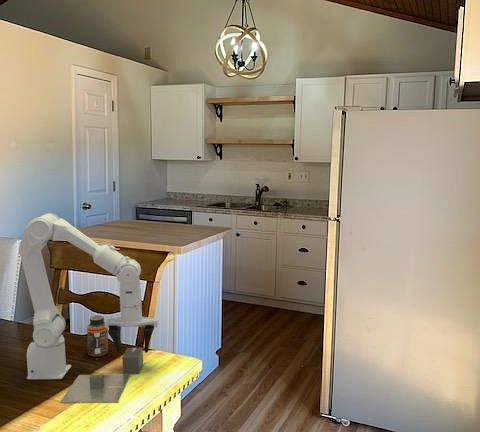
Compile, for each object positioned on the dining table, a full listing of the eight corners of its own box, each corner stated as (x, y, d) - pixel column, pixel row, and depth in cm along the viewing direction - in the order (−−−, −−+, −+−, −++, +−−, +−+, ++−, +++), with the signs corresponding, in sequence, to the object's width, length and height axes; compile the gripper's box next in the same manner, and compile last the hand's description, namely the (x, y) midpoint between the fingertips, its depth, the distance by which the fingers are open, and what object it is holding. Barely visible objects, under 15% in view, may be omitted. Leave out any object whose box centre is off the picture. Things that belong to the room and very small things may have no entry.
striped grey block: (139, 374, 135) (138, 356, 134) (123, 374, 135) (122, 356, 134) (143, 364, 141) (142, 347, 140) (128, 364, 141) (127, 347, 140)
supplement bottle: (102, 358, 145) (101, 321, 144) (84, 356, 147) (82, 320, 145) (111, 350, 151) (110, 314, 150) (94, 348, 152) (92, 313, 151)
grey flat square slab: (60, 402, 120) (59, 389, 120) (79, 376, 134) (78, 364, 134) (117, 402, 120) (116, 389, 120) (130, 376, 134) (129, 364, 134)
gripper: (159, 299, 139) (161, 345, 141) (108, 300, 139) (110, 345, 141) (155, 307, 132) (157, 355, 134) (101, 308, 132) (104, 356, 134)
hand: (133, 351), depth 137 cm, fingers open, 7 cm apart
